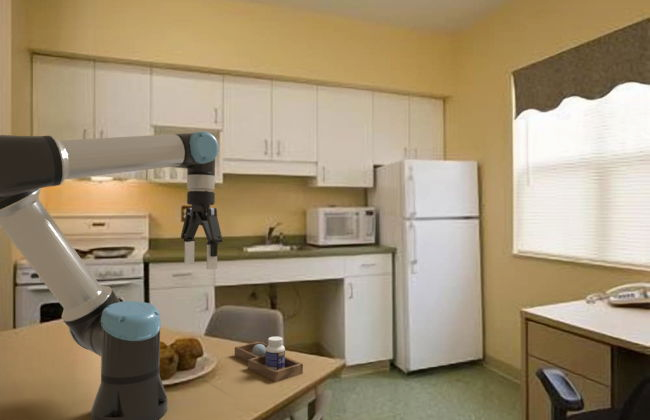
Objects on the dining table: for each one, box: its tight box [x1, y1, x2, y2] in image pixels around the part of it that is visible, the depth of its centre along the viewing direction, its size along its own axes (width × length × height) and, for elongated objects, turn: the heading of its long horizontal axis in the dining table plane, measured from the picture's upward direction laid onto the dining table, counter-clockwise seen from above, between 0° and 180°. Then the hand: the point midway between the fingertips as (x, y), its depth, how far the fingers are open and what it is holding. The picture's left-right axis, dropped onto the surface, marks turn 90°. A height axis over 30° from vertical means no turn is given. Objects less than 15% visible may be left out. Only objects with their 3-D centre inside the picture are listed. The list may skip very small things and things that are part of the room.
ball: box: [253, 344, 266, 357], centre depth 130 cm, size 4×4×4 cm
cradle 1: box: [234, 341, 269, 364], centre depth 130 cm, size 9×13×3 cm
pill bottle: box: [265, 336, 286, 371], centre depth 120 cm, size 5×5×9 cm
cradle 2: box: [247, 355, 304, 383], centre depth 120 cm, size 9×13×3 cm
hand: (200, 266), depth 123 cm, fingers open, 13 cm apart
